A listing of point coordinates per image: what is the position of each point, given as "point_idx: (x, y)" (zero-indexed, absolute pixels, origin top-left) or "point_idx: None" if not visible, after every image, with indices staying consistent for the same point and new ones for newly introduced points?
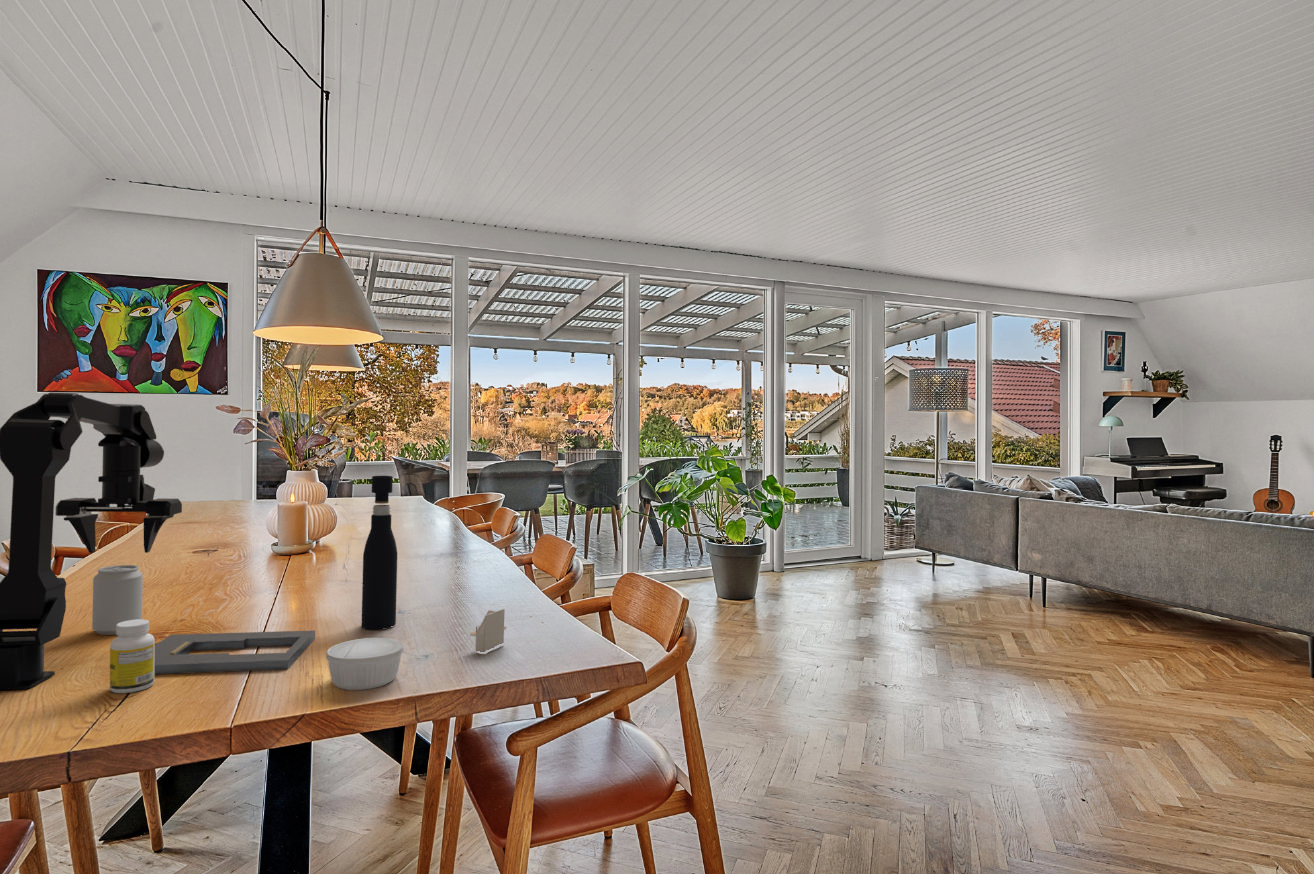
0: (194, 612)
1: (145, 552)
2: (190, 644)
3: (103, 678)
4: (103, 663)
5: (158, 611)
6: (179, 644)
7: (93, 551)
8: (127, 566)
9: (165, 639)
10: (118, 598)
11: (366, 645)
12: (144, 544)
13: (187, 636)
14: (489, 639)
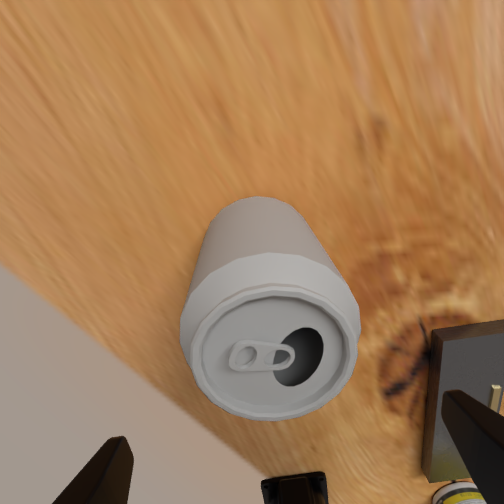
0: (376, 22)
1: (444, 415)
2: (502, 391)
3: (400, 475)
4: (364, 428)
5: (242, 11)
6: (482, 395)
7: (125, 450)
8: (272, 295)
9: (443, 370)
10: (301, 341)
11: None
12: (484, 490)
13: (482, 351)
14: None
